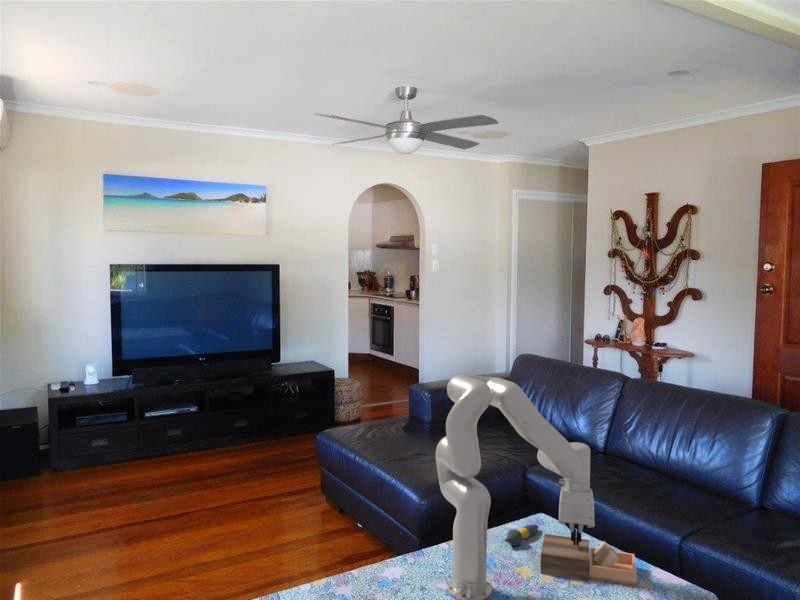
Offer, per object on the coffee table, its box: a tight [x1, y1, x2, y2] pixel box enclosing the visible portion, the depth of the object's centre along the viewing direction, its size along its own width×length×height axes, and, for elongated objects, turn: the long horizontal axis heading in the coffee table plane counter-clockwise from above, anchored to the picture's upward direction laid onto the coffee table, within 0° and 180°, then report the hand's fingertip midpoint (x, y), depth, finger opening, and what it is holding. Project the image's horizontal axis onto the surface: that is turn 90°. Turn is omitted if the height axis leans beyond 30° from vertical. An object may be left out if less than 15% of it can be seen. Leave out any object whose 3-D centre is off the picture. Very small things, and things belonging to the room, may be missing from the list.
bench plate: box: [540, 533, 590, 581], centre depth 184 cm, size 14×14×6 cm
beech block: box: [593, 540, 619, 568], centre depth 181 cm, size 5×5×5 cm
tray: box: [588, 547, 638, 587], centre depth 180 cm, size 12×13×4 cm
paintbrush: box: [504, 524, 539, 546], centre depth 202 cm, size 20×5×5 cm, turn 143°
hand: (576, 543), depth 183 cm, fingers closed
